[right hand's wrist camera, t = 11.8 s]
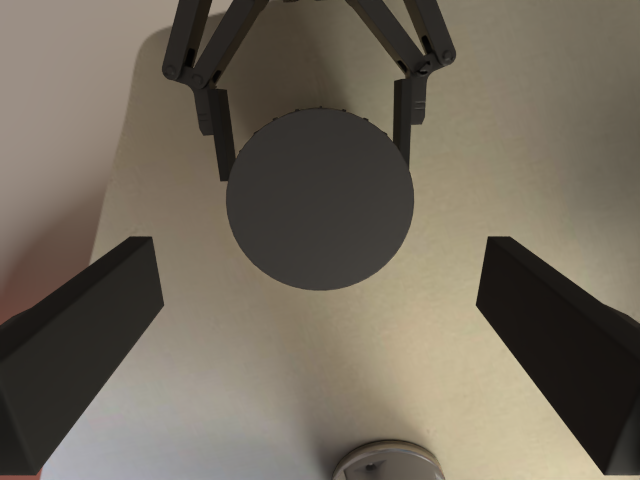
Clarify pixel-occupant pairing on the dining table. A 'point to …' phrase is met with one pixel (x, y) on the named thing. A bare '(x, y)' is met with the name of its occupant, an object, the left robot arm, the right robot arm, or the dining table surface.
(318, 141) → the lid
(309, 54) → the dining table surface
